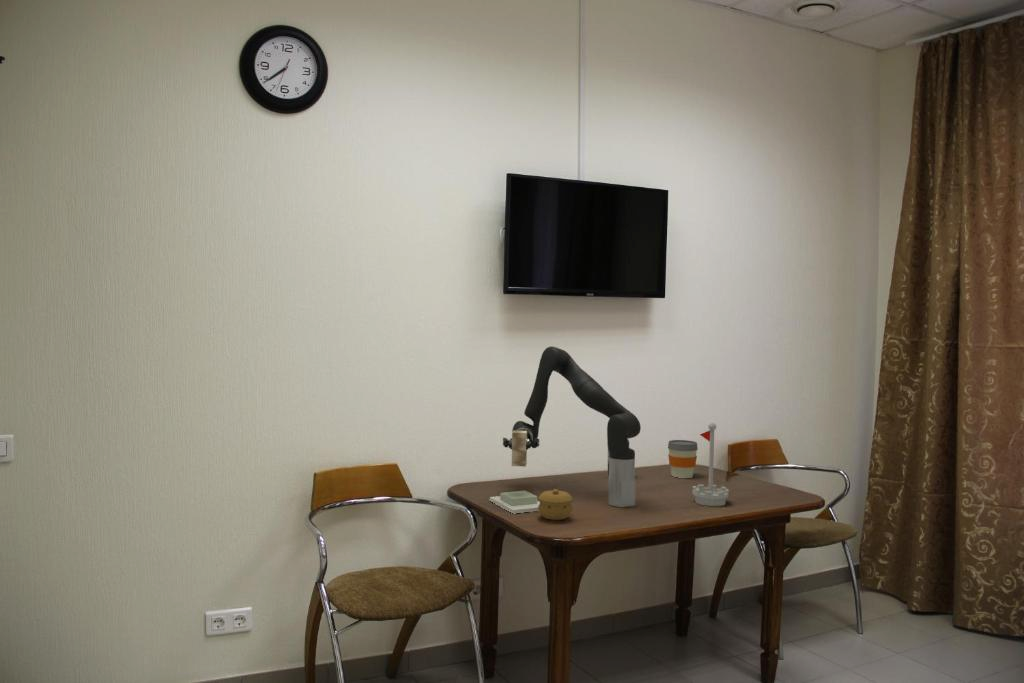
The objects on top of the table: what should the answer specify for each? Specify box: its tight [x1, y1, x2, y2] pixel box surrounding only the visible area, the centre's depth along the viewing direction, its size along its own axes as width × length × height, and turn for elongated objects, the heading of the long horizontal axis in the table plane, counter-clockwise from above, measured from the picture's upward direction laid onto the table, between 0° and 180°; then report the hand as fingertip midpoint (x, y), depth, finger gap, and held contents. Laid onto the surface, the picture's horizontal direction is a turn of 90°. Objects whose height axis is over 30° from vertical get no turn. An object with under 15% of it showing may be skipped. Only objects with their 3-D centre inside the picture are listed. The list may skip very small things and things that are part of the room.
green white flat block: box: [489, 490, 540, 515], centre depth 277 cm, size 20×14×4 cm
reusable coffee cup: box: [667, 439, 699, 479], centre depth 332 cm, size 13×13×15 cm
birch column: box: [511, 431, 528, 468], centre depth 276 cm, size 5×5×12 cm
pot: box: [537, 488, 574, 521], centre depth 261 cm, size 12×12×10 cm
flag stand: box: [692, 422, 730, 507], centre depth 287 cm, size 13×13×30 cm
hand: (519, 446), depth 274 cm, fingers closed on birch column, 5 cm apart
